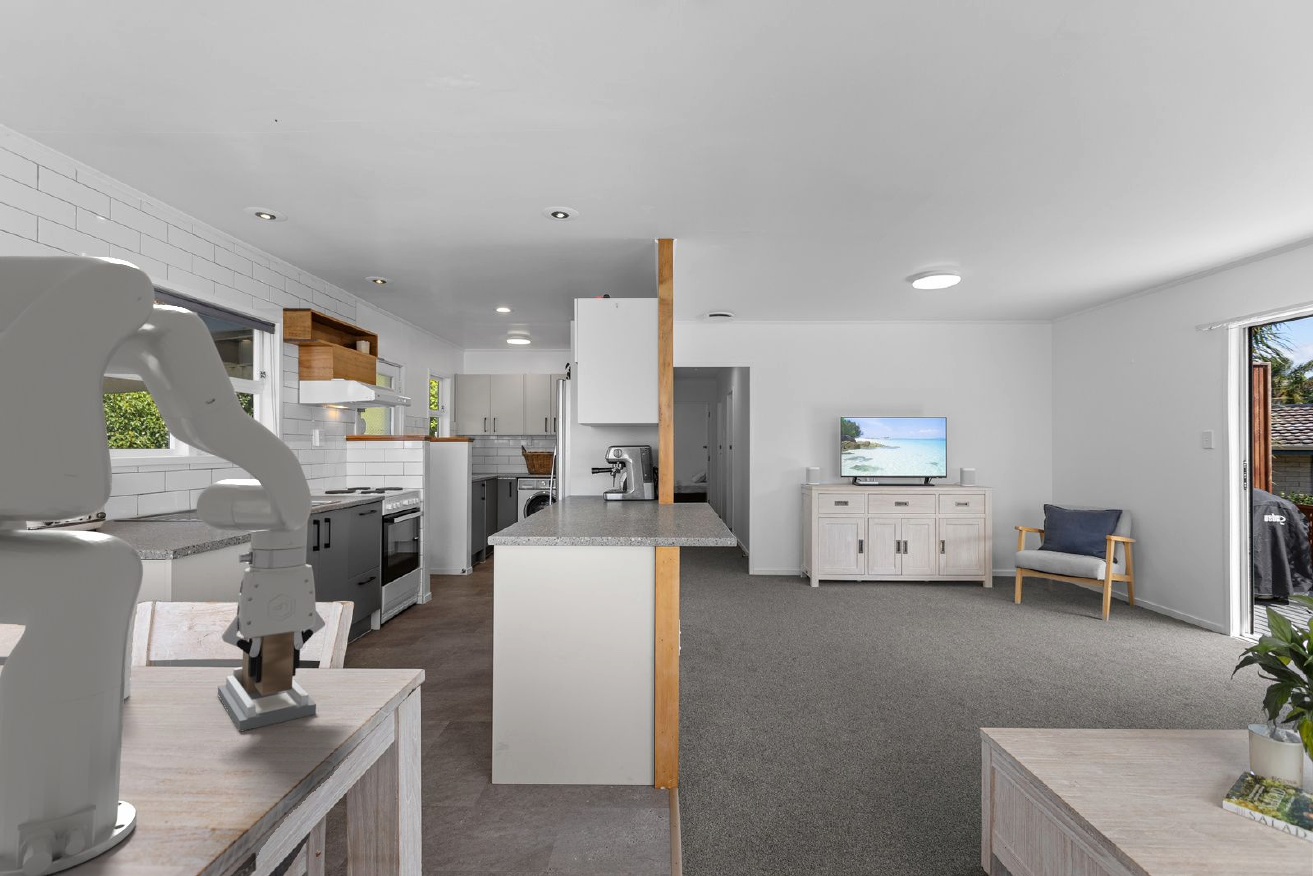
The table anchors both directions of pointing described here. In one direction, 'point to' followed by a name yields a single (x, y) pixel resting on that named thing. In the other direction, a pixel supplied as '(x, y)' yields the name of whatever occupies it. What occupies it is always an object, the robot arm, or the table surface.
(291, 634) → the walnut finger
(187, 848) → the table surface
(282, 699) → the frame
